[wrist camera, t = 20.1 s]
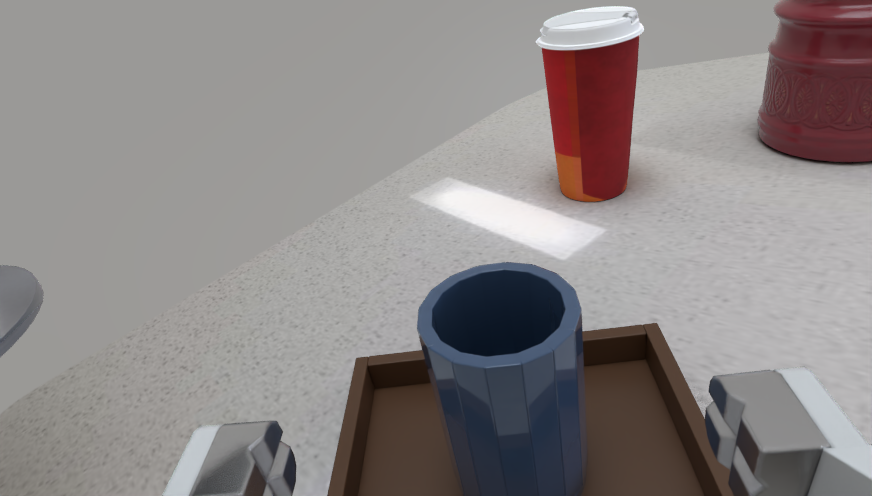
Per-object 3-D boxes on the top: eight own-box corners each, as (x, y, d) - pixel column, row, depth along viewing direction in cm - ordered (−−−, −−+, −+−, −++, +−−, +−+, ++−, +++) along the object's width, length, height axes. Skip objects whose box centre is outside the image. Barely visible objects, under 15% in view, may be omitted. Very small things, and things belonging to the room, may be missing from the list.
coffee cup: (648, 170, 51) (654, 0, 43) (627, 212, 45) (629, 25, 37) (563, 165, 55) (554, 9, 47) (533, 203, 50) (518, 33, 42)
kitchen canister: (960, 160, 43) (1054, -97, 34) (776, 170, 47) (817, -59, 38) (886, 105, 54) (943, -103, 44) (741, 117, 57) (765, -73, 48)
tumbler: (456, 533, 24) (412, 376, 19) (455, 419, 30) (421, 272, 24) (601, 522, 23) (596, 356, 18) (573, 407, 29) (563, 253, 24)
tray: (322, 634, 22) (303, 604, 21) (365, 386, 34) (355, 357, 32) (771, 609, 20) (782, 574, 19) (655, 354, 32) (657, 322, 30)
